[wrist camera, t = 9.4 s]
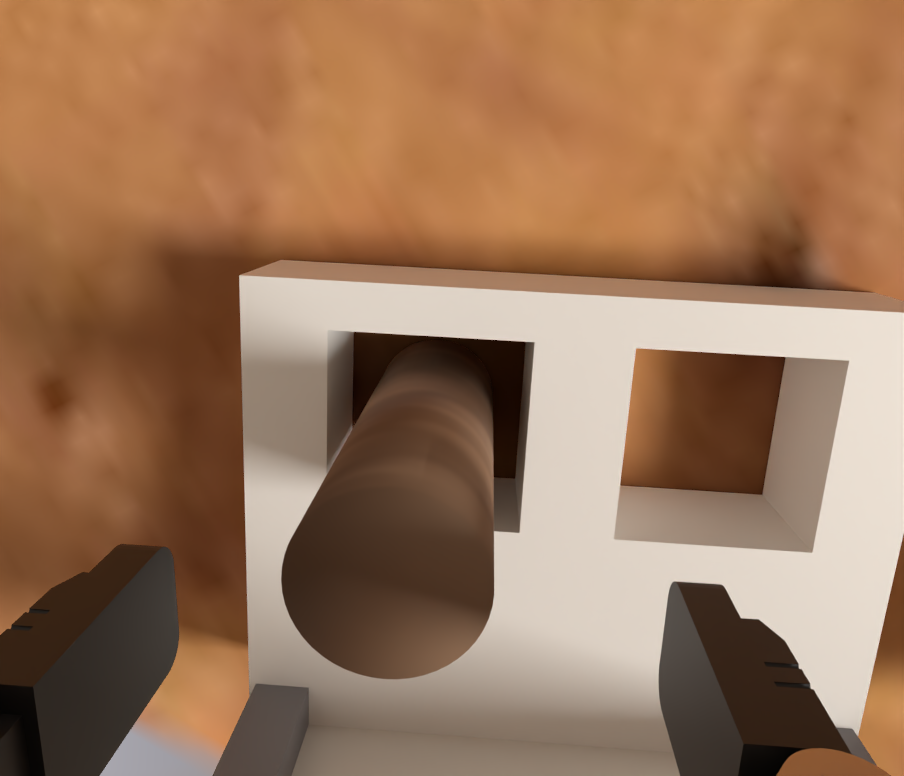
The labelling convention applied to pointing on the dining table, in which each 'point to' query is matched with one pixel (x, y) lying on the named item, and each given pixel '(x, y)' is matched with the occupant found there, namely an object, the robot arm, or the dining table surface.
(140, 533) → the dining table surface
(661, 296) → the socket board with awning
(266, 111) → the dining table surface
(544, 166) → the dining table surface
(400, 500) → the walnut dowel
